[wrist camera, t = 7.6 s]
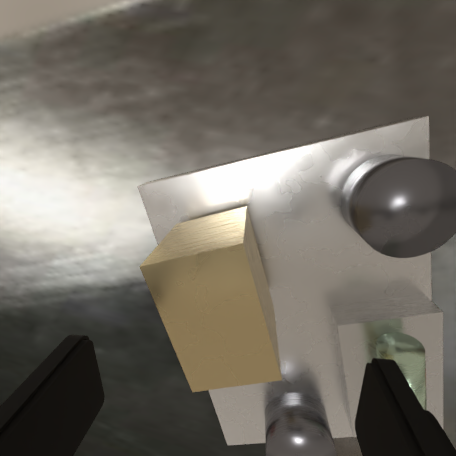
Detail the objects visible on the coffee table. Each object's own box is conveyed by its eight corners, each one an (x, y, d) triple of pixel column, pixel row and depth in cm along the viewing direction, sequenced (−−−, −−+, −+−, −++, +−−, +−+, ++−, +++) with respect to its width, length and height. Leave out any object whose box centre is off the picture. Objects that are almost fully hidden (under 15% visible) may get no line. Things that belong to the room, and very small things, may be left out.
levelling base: (412, 117, 16) (500, 109, 10) (422, 411, 23) (476, 503, 18) (147, 182, 19) (99, 203, 13) (229, 427, 26) (222, 510, 20)
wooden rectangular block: (180, 218, 17) (139, 266, 11) (247, 202, 17) (243, 243, 10) (225, 348, 21) (213, 441, 14) (283, 338, 20) (297, 433, 14)
